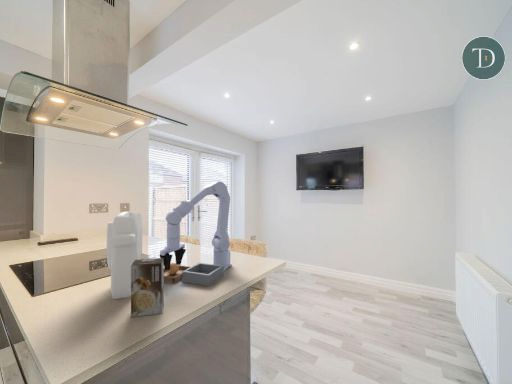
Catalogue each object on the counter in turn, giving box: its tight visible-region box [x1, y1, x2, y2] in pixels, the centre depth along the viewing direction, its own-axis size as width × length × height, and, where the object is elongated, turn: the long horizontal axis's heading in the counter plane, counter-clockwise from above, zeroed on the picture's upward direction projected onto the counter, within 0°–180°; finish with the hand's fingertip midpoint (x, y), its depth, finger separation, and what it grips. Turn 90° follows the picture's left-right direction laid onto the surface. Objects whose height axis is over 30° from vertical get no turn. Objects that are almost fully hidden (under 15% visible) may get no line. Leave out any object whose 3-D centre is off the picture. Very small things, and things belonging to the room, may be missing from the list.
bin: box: [181, 262, 224, 287], centre depth 101 cm, size 13×13×4 cm
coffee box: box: [130, 257, 165, 318], centre depth 73 cm, size 9×6×16 cm
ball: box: [167, 262, 179, 274], centre depth 104 cm, size 5×5×5 cm
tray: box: [164, 264, 191, 285], centre depth 104 cm, size 15×13×2 cm
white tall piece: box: [106, 211, 143, 300], centre depth 90 cm, size 27×11×30 cm, turn 21°
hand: (173, 267), depth 104 cm, fingers open, 7 cm apart
